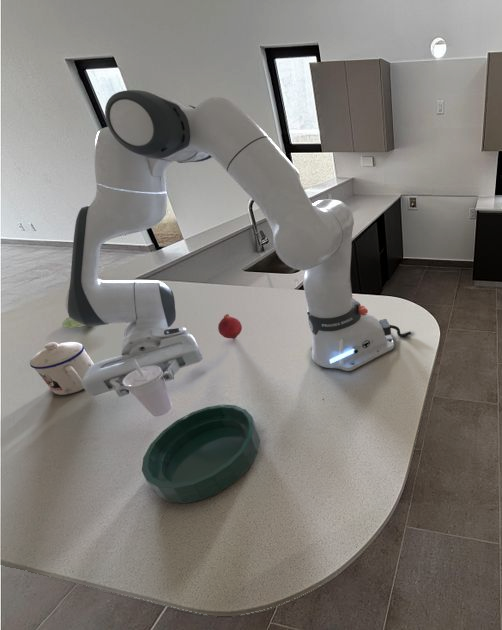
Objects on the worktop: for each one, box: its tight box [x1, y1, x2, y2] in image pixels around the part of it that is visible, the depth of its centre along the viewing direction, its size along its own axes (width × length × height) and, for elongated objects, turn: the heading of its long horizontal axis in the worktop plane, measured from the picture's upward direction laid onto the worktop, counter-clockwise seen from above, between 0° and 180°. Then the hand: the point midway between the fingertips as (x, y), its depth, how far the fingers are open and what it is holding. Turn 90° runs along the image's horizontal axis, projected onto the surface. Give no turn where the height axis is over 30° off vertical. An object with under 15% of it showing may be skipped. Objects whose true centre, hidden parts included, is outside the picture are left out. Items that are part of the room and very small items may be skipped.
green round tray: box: [141, 404, 261, 504], centre depth 62 cm, size 18×18×5 cm
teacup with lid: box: [29, 341, 95, 396], centre depth 77 cm, size 12×9×12 cm
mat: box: [61, 316, 86, 329], centre depth 103 cm, size 11×11×2 cm
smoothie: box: [122, 359, 173, 417], centre depth 67 cm, size 6×6×14 cm
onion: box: [217, 313, 243, 340], centre depth 94 cm, size 6×6×8 cm
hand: (146, 385), depth 66 cm, fingers closed on smoothie, 6 cm apart
